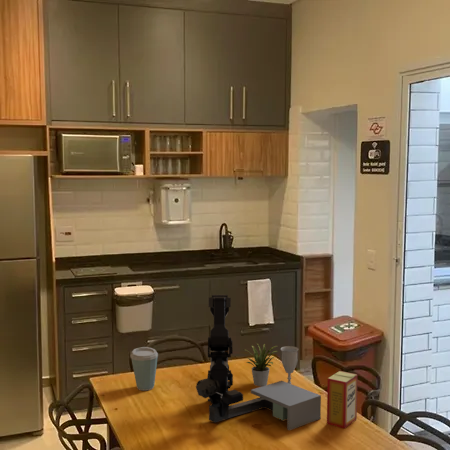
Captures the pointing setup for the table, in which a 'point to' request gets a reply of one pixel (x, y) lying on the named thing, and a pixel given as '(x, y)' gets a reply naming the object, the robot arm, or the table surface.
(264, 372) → the house plant
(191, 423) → the table surface
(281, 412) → the block
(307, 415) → the cubby
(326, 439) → the table surface
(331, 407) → the baking soda box
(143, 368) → the disposable coffee cup
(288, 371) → the chalice
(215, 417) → the dark grey hook tool
